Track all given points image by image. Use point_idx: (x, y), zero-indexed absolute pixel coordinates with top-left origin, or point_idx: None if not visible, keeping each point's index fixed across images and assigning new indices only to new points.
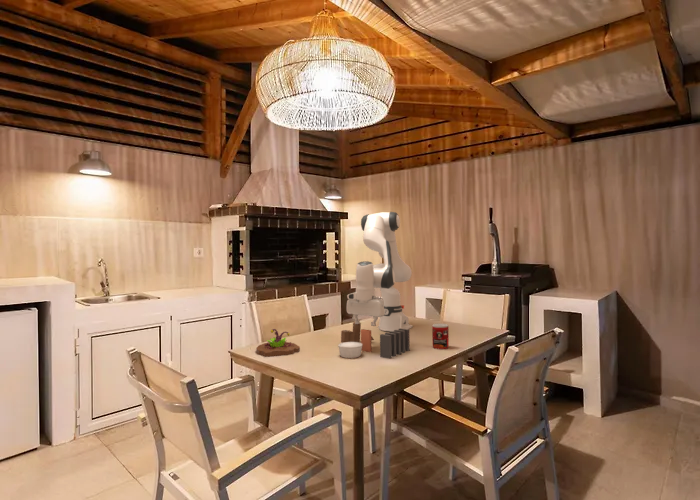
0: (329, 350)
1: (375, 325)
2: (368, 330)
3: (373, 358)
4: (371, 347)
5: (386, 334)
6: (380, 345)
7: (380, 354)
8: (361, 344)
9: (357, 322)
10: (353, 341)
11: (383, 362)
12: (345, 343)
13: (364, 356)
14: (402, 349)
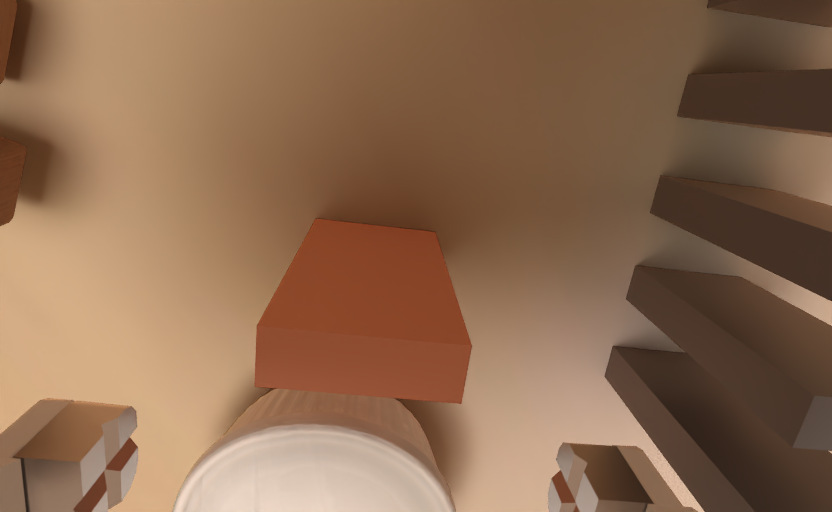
0: (15, 398)
1: (631, 452)
2: (430, 382)
3: (565, 441)
4: (439, 246)
5: (808, 438)
6: (664, 450)
7: (617, 390)
8: (435, 499)
9: (110, 501)
10: (3, 16)
11: (684, 497)
12: (211, 497)
13: (461, 424)
14: (807, 133)
